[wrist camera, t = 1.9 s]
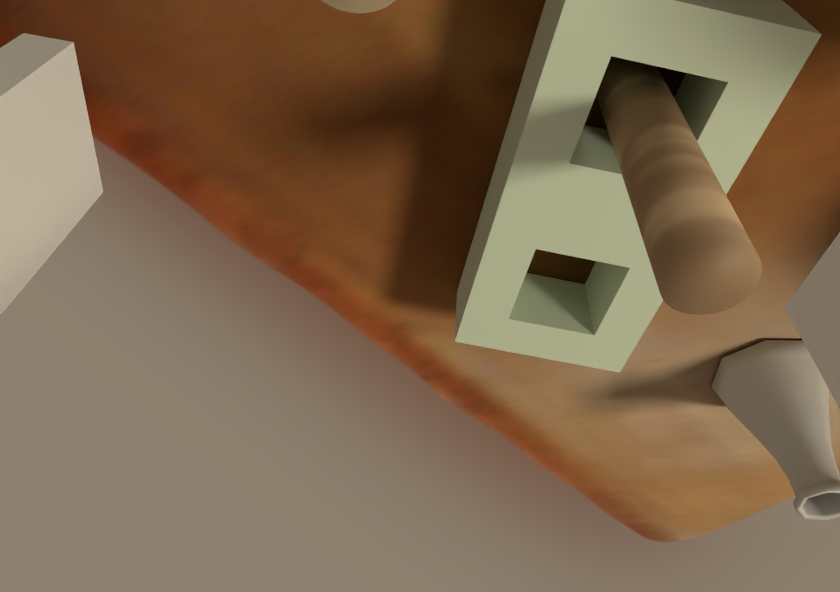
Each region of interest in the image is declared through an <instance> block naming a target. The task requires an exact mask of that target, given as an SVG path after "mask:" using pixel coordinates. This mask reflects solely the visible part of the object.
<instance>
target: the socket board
mask: <svg viewBox="0 0 840 592" xmlns="http://www.w3.org/2000/svg"><path fill="white" fill-rule="evenodd" d="M821 35H822V34H821V33H820V32H819V31H817V30H816V29H815V28H814V27H813V26H812V25H811V24H809V23H808V22H807V21H806V20H805V19H804V18H802V17H801V16H800V15H799V14H798V13H797V12H796V11H794V10H793V9H792V8H791V7H790V6H789V5H787V4H786V3H785V2H784V1H783V0H546V1H545V4H544V7H543V11H542V14H541V17H540V21H539V24H538V27H537V30H536V34H535V37H534V40H533V44H532V47H531V50H530V53H529V57H528V60H527V63H526V67H525V70H524V73H523V76H522V80H521V83H520V86H519V90H518V93H517V96H516V99H515V103H514V106H513V109H512V112H511V116H510V119H509V122H508V126H507V129H506V132H505V135H504V139H503V142H502V145H501V149H500V152H499V155H498V158H497V162H496V165H495V168H494V172H493V175H492V178H491V181H490V185H489V188H488V191H487V195H486V198H485V201H484V204H483V208H482V211H481V214H480V217H479V221H478V224H477V227H476V231H475V234H474V237H473V240H472V244H471V247H470V250H469V254H468V257H467V260H466V263H465V267H464V270H463V273H462V277H461V280H460V283H459V286H458V290H457V303H456V325H455V342H460V343H465V344H471V345H476V346H481V347H487V348H492V349H497V350H503V351H508V352H513V353H519V354H524V355H529V356H535V357H540V358H545V359H551V360H556V361H561V362H567V363H572V364H577V365H583V366H588V367H593V368H598V369H604V370H609V371H614V372H620V371H621V369H622V368H623V366H624V364H625V363H626V361H627V359H628V358H629V356H630V354H631V353H632V351H633V349H634V348H635V346H636V344H637V343H638V341H639V339H640V338H641V336H642V334H643V333H644V331H645V329H646V328H647V326H648V324H649V323H650V321H651V319H652V318H653V316H654V314H655V313H656V311H657V309H658V308H659V306H660V304H661V303H662V301H663V298H662V297H661V294H660V292H659V289H658V286H657V282H656V279H655V276H654V273H653V270H652V267H651V264H650V261H649V257H648V254H647V251H646V248H645V245H644V242H643V239H642V236H641V233H640V229H639V226H638V223H637V220H636V217H635V214H634V211H633V208H632V205H631V201H630V198H629V195H628V192H627V189H626V186H625V183H624V180H623V177H622V173H621V170H620V167H619V164H618V161H617V158H616V155H615V152H614V149H613V145H612V142H611V139H610V136H609V133H608V130H607V129H603V128H598V127H594V126H589V125H585V122H586V120H587V117H588V114H589V112H590V109H591V107H592V104H593V102H594V99H595V97H596V94H597V91H598V89H599V86H600V84H601V81H602V79H603V76H604V74H605V71H606V68H607V66H608V63H609V61H610V58H611V56H613V57H617V58H622V59H626V60H631V61H635V62H640V63H644V64H649V65H653V66H658V67H662V68H667V69H671V70H676V71H680V72H685V73H686V74H685V76H684V78H683V80H682V82H681V84H680V86H679V88H678V90H677V93H676V95H675V97H674V99H675V101H676V103H677V105H678V107H679V108H680V110H681V112H682V114H683V116H684V118H685V120H686V121H687V123H688V125H689V127H690V129H691V131H692V133H693V135H694V136H695V138H696V140H697V142H698V144H699V146H700V148H701V150H702V151H703V153H704V155H705V157H706V159H707V161H708V163H709V164H710V166H711V168H712V170H713V172H714V174H715V176H716V178H717V179H718V181H719V183H720V185H721V187H722V189H723V191H724V192H725V194H727V192H728V191H729V189H730V187H731V186H732V184H733V182H734V181H735V179H736V177H737V176H738V174H739V172H740V171H741V169H742V167H743V166H744V164H745V162H746V161H747V159H748V157H749V156H750V154H751V152H752V151H753V149H754V147H755V146H756V144H757V142H758V141H759V139H760V137H761V136H762V134H763V132H764V131H765V129H766V127H767V126H768V124H769V122H770V121H771V119H772V117H773V115H774V114H775V112H776V110H777V109H778V107H779V105H780V104H781V102H782V100H783V99H784V97H785V95H786V94H787V92H788V90H789V89H790V87H791V85H792V84H793V82H794V80H795V79H796V77H797V75H798V74H799V72H800V70H801V69H802V67H803V65H804V64H805V62H806V60H807V59H808V57H809V55H810V54H811V52H812V50H813V49H814V47H815V45H816V44H817V42H818V40H819V39H820V37H821ZM536 249H538V250H543V251H548V252H553V253H558V254H563V255H568V256H573V257H578V258H583V259H588V260H593V261H596V262H595V264H594V266H593V268H592V270H591V273H590V275H589V277H588V279H587V281H586V283H585V284H581V283H576V282H571V281H566V280H561V279H555V278H550V277H545V276H540V275H535V274H530V273H527V270H528V268H529V265H530V263H531V260H532V258H533V255H534V252H535V250H536Z"/></svg>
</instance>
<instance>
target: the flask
mask: <svg viewBox="0 0 840 592" xmlns="http://www.w3.org/2000/svg"><path fill="white" fill-rule="evenodd" d="M711 387H712V388H713V390H714V391H715V392H716V394H717V395H718V396H719V397H720V399H721V400H722V401H723V403H724V404H725V405H726V406H727V408H728V409H729V410H730V411H731V412H732V413H733V414H734V415H735V417H736V418H737V419H738V420H739V421H740V422H741V423H742V424H743V425H744V426H745V427H746V428H747V429H748V430H749V431H750V432H751V433H752V434H753V435H754V436H755V437H756V438H757V439H758V440H759V441H760V442H761V443H762V445H763V446H764V447H765V448H766V449H767V450H768V451H769V452H770V453H771V455H772V456H773V457H774V458H775V459H776V460H777V462H778V463H779V465H780V467H781V468H782V470H783V471H784V473H785V474H786V476H787V477H788V479H789V481H790V484H791V486H792V488H793V491H794V493H795V496H796V498H795V500H794V507H795V509H796V511H797V512H798V513H799V514H800V515H801V517H802V518H803V519H805V520H829V519H833V518H836V517H840V474H839V472H838V469H837V466H836V462H835V458H834V454H833V450H832V446H831V437H830V421H829V393H828V386H827V384H826V383H825V381H824V379H823V377H822V375H821V373H820V371H819V370H818V368H817V366H816V364H815V362H814V360H813V359H812V357H811V355H810V353H809V351H808V349H807V347H806V346H805V344H804V342H803V341H792V340H765V341H763V342H760V343H758V344H755V345H753V346H750V347H748V348H745V349H743V350H741V351H738V352H736V353H733V354H731V355H728V356H726V357H723V358H722V359H721V362H720V365H719V367H718V370H717V373H716V375H715V378H714V381H713V383H712V386H711Z"/></svg>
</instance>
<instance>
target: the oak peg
mask: <svg viewBox="0 0 840 592" xmlns="http://www.w3.org/2000/svg"><path fill="white" fill-rule="evenodd" d="M596 96H597V99H598V102H599V105H600V108H601V111H602V114H603V117H604V121H605V124H606V127H607V130H608V133H609V136H610V139H611V142H612V145H613V149H614V152H615V155H616V158H617V161H618V164H619V167H620V170H621V173H622V177H623V180H624V183H625V186H626V189H627V192H628V195H629V198H630V201H631V205H632V208H633V211H634V214H635V217H636V220H637V223H638V226H639V229H640V233H641V236H642V239H643V242H644V245H645V248H646V251H647V254H648V257H649V261H650V264H651V267H652V270H653V273H654V276H655V279H656V282H657V286H658V289H659V292H660V294H661V297H662V298H663V300H664V301H665V302H666V303H667V304H668V305H669V306H670V307H672V308H673V309H675V310H677V311H680V312H683V313H687V314H695V315H703V314H712V313H716V312H720V311H723V310H726V309H728V308H731V307H733V306H735V305H737V304H738V303H740V302H741V301H743V300H744V299H745V298H747V297H748V296H749V295H750V294H751V293H752V292H753V290H754V289H755V288H756V286H757V285H758V283H759V280H760V278H761V274H762V263H761V260H760V258H759V256H758V254H757V252H756V250H755V249H754V247H753V245H752V243H751V241H750V239H749V237H748V235H747V234H746V232H745V230H744V228H743V226H742V224H741V222H740V221H739V219H738V217H737V215H736V213H735V211H734V209H733V207H732V206H731V204H730V202H729V200H728V198H727V196H726V194H725V192H724V191H723V189H722V187H721V185H720V183H719V181H718V179H717V178H716V176H715V174H714V172H713V170H712V168H711V166H710V164H709V163H708V161H707V159H706V157H705V155H704V153H703V151H702V150H701V148H700V146H699V144H698V142H697V140H696V138H695V136H694V135H693V133H692V131H691V129H690V127H689V125H688V123H687V121H686V120H685V118H684V116H683V114H682V112H681V110H680V108H679V107H678V105H677V103H676V101H675V99H674V97H673V95H672V93H671V92H670V90H669V88H668V86H667V84H666V82H665V80H664V78H663V77H662V75H661V73H660V71H659V69H658V67H657V66H653V65H649V64H644V63H640V62H635V61H631V60H626V59H622V58H617V57H613V58H612V59H610V61H609V63H608V66H607V68H606V71H605V74H604V76H603V79H602V81H601V84H600V86H599V89H598V91H597V94H596Z"/></svg>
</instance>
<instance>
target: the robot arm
mask: <svg viewBox="0 0 840 592" xmlns="http://www.w3.org/2000/svg"><path fill="white" fill-rule="evenodd" d="M102 193H103V188H102V183H101V178H100V173H99V168H98V163H97V158H96V154H95V148H94V143H93V138H92V133H91V128H90V123H89V118H88V113H87V108H86V103H85V97H84V92H83V87H82V82H81V77H80V72H79V67H78V62H77V57H76V52H75V47H74V42H70V41H64V40H58V39H53V38H47V37H42V36H36V35H31V34H25V33H23V34H21V35H20V36H18V37H17V38H15V39H14V40H12V41H11V42H9V43H7V44H6V45H4V46H3V47H1V48H0V315H1V314H2V313H3V312H4V310H5V309H6V308H7V307H8V306H9V304H10V303H11V302H12V301H13V300H14V298H15V297H16V296H17V295H18V294H19V292H20V291H21V290H22V289H23V288H24V286H25V285H26V284H27V283H28V282H29V280H30V279H31V278H32V277H33V276H34V274H35V273H36V272H37V271H38V270H39V268H40V267H41V266H42V265H43V264H44V262H45V261H46V260H47V258H49V256H50V255H51V254H52V253H53V251H54V250H55V249H56V248H57V247H58V245H59V244H60V243H61V242H62V241H63V239H64V238H65V237H66V236H67V235H68V233H69V232H70V231H71V230H72V229H73V227H74V226H75V225H76V224H77V223H78V222H79V220H80V219H81V218H82V217H83V215H84V214H85V213H86V212H87V211H88V210H89V208H90V207H91V206H92V205H93V204H94V202H95V201H96V200H97V199H98V198H99V196H100V195H101V194H102ZM785 309H786V311H787V312H788V314H789V316H790V318H791V320H792V322H793V323H794V325H795V327H796V329H797V331H798V333H799V335H800V336H801V338H802V340H803V342H804V344H805V346H806V347H807V349H808V351H809V353H810V355H811V357H812V359H813V360H814V362H815V364H816V366H817V368H818V370H819V371H820V373H821V375H822V377H823V379H824V381H825V383H826V384H827V386H828V388H829V390H830V392H831V394H832V395H833V397H834V399H835V401H836V403H837V405H838V407H839V408H840V232H839V234H838V235H837V236H836V238H835V239H834V241H833V242H832V243H831V245H830V246H829V247H828V249H827V250H826V252H825V253H824V254H823V256H822V257H821V258H820V260H819V261H818V262H817V264H816V265H815V267H814V268H813V269H812V271H811V272H810V273H809V275H808V276H807V278H806V279H805V280H804V282H803V283H802V284H801V286H800V287H799V289H798V290H797V291H796V293H795V294H794V295H793V297H792V298H791V300H790V301H789V302H788V304H787V305H786V306H785Z"/></svg>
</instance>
